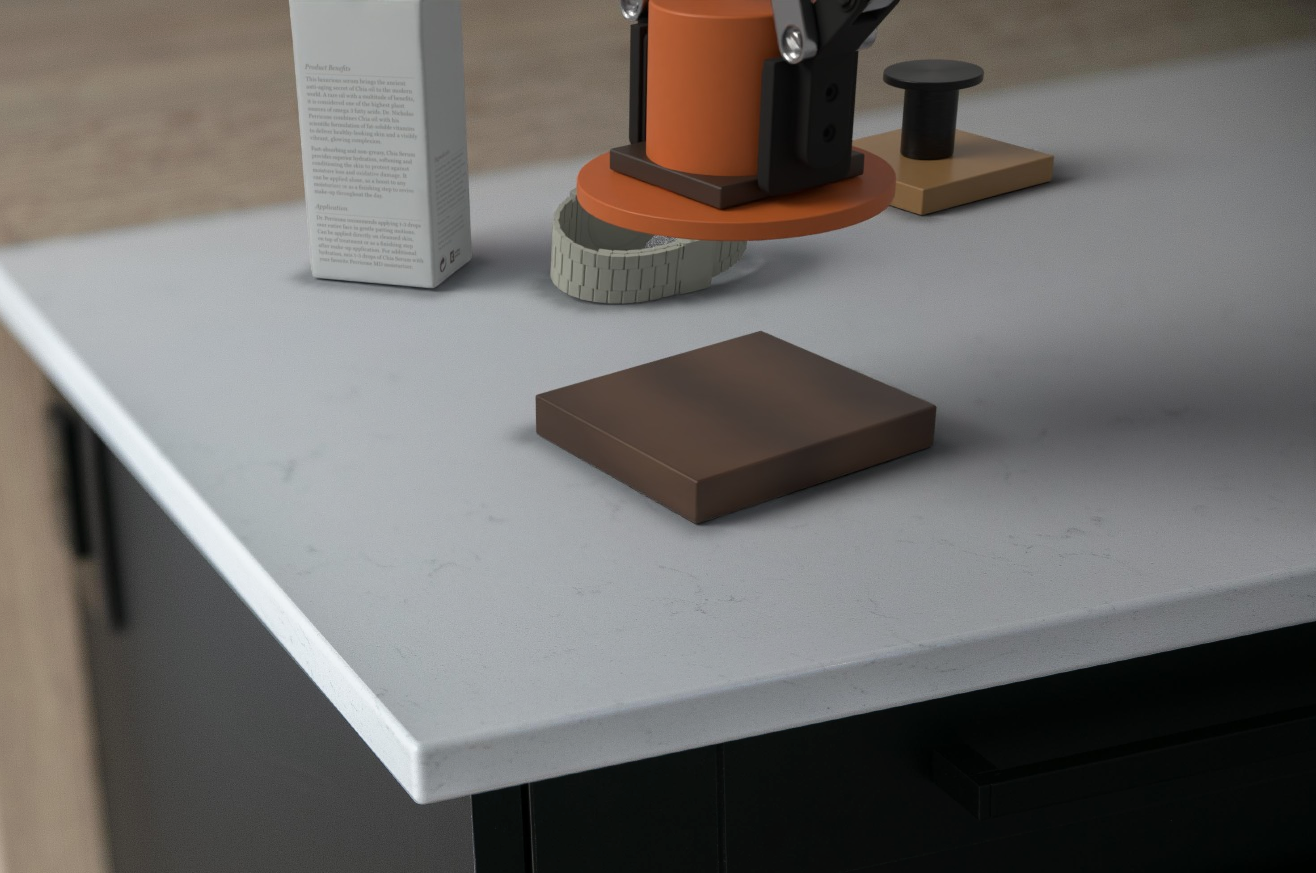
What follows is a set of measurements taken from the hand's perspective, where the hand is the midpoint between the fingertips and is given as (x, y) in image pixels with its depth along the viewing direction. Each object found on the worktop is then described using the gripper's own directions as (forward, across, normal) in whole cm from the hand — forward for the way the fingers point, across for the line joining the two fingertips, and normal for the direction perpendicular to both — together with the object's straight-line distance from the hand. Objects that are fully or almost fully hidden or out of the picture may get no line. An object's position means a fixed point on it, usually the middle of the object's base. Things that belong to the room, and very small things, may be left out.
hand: (735, 157), depth 62 cm
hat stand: (+10, +18, -26) cm, 33 cm away
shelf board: (+10, 0, 0) cm, 10 cm away
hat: (+1, 0, 0) cm, 1 cm away
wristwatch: (+10, +15, -8) cm, 20 cm away
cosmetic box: (+10, +23, 0) cm, 25 cm away
